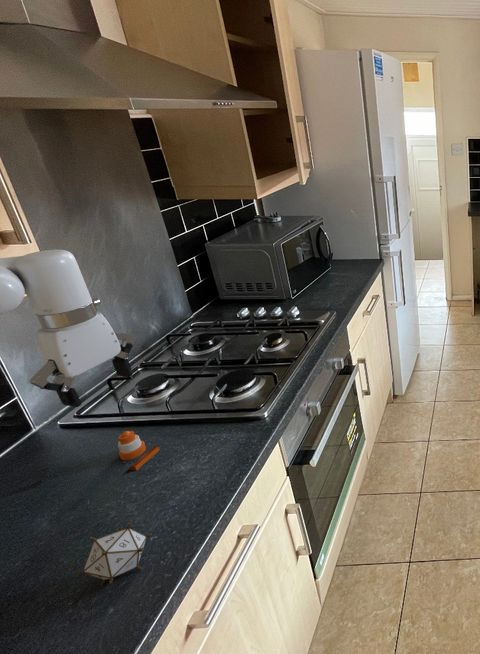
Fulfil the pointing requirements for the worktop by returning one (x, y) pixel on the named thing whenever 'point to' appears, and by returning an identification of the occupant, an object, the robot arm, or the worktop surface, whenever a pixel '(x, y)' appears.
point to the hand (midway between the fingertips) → (101, 389)
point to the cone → (134, 449)
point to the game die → (115, 554)
